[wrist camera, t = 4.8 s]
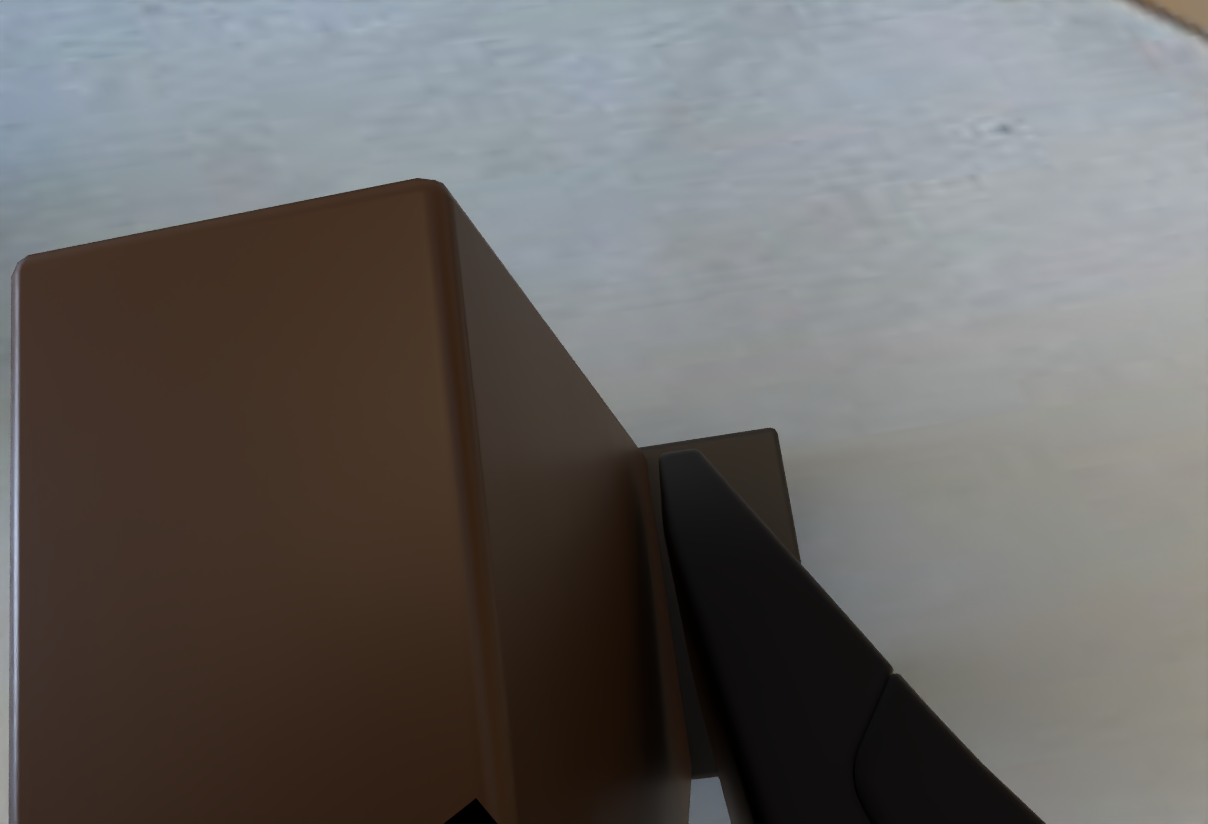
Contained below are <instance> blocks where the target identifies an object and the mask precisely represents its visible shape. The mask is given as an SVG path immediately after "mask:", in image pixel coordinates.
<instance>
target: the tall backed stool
mask: <svg viewBox="0 0 1208 824" xmlns="http://www.w3.org/2000/svg"><path fill="white" fill-rule="evenodd" d="M687 449H697V450H699V451H700V452H701V453H702V454H703V455H704V456H705V457H706V458H707V459H708V460H709V462H710V463H711V464H712V465H713V466H714V467H715V468H716V469H717V471H718V472H719V473H720V474H721V475H722V476H723V477H724V478H725V479H726V481H727V482H728V483H729V484H730V485H731V486H732V487H733V488H734V490H735V491H736V492H737V493H738V494H739V495H740V496H741V497H742V499H743V500H744V501H745V502H746V503H747V504H748V505H749V506H750V508H751V509H752V510H753V511H754V512H755V513H756V514H757V515H758V517H759V518H760V519H761V520H762V521H763V522H764V523H765V524H766V525H767V527H768V528H769V529H770V530H771V531H772V532H773V533H774V534H775V536H776V537H777V538H778V539H779V540H780V541H781V542H782V543H783V545H784V546H785V547H786V548H787V549H788V550H789V551H790V552H791V554H792V555H793V556H794V557H795V558H796V559H797V560H798V561H799V562H800V564H801V560H800V554H799V549H798V543H797V538H796V532H795V527H794V521H793V516H792V510H791V505H790V499H789V494H788V488H787V483H786V477H785V472H784V466H783V461H782V455H781V450H780V444H779V439H778V433H777V432H776V430H775V429H773V428H764V429H758V430H751V431H745V432H738V433H732V434H725V435H719V436H712V437H706V438H700V439H693V440H687V441H680V442H674V443H667V444H661V445H654V446H648V447H641V448H638V447H637V445H636V444H635V443H634V441H633V440H632V439H631V437H630V436H629V435H628V433H627V432H626V430H625V429H624V428H623V426H622V425H621V424H620V422H619V421H618V420H617V418H616V417H615V416H614V414H613V413H612V412H611V410H610V409H609V407H608V406H607V405H606V403H605V402H604V401H603V399H602V398H601V397H600V395H599V394H598V393H597V391H596V390H595V388H594V387H593V386H592V384H591V383H590V382H589V380H588V379H587V378H586V376H585V375H584V374H583V372H582V371H581V369H580V368H579V367H578V365H577V364H576V363H575V361H574V360H573V359H572V357H571V356H570V355H569V353H568V352H567V350H566V349H565V348H564V346H563V345H562V344H561V342H560V341H559V340H558V338H557V337H556V336H555V334H554V333H553V331H552V330H551V329H550V327H549V326H548V325H547V323H546V322H545V321H544V319H543V318H542V317H541V315H540V314H539V312H538V311H537V310H536V308H535V307H534V306H533V304H532V303H531V302H530V300H529V299H528V298H527V296H526V295H525V293H524V292H523V291H522V289H521V288H520V287H519V285H518V284H517V283H516V281H515V280H514V279H513V277H512V276H511V274H510V273H509V272H508V270H507V269H506V268H505V266H504V265H503V264H502V262H501V261H500V260H499V258H498V257H497V256H496V254H495V253H494V251H493V250H492V249H491V247H490V246H489V245H488V243H487V242H486V241H485V239H484V238H483V237H482V235H481V234H480V232H479V231H478V230H477V228H476V227H475V226H474V224H473V223H472V222H471V220H470V219H469V218H468V216H467V215H466V213H465V212H464V211H463V209H462V208H461V207H460V205H459V204H458V203H457V201H456V200H455V199H454V197H453V196H452V194H451V193H450V192H449V190H448V189H447V188H446V186H445V185H444V184H443V183H441V182H438V181H436V180H429V179H421V178H415V179H410V180H405V181H400V182H395V183H390V184H385V185H380V186H375V187H370V188H365V189H360V190H355V191H350V192H345V193H340V194H335V195H329V196H324V197H319V198H314V199H309V200H304V201H299V202H294V203H289V204H284V205H279V206H274V207H269V208H264V209H259V210H254V211H249V212H244V213H239V214H234V215H229V216H223V217H218V218H213V219H208V220H203V221H198V222H193V223H188V224H183V225H178V226H173V227H168V228H163V229H158V230H153V231H148V232H143V233H138V234H133V235H128V236H123V237H117V238H112V239H107V240H102V241H97V242H92V243H87V244H82V245H77V246H72V247H67V248H62V249H57V250H52V251H47V252H42V253H37V254H32V255H28V256H27V257H25V258H24V259H22V260H21V261H19V262H18V263H17V265H16V267H15V270H14V272H13V274H12V276H11V470H10V668H9V824H688V821H689V805H690V790H691V779H700V778H710V777H719V775H718V771H717V767H716V763H715V760H714V756H713V752H712V748H711V744H710V741H709V737H708V733H707V729H706V725H705V722H704V718H703V714H702V710H701V706H700V703H699V699H698V695H697V691H696V687H695V683H694V679H693V674H692V670H691V666H690V661H689V656H688V651H687V646H686V641H685V636H684V631H683V626H682V621H681V616H680V611H679V606H678V601H677V596H676V591H675V586H674V581H673V576H672V571H671V566H670V561H669V556H668V552H667V547H666V542H665V537H664V529H663V520H662V506H661V491H660V477H659V457H660V455H662V454H663V453H667V452H674V451H680V450H687Z"/></svg>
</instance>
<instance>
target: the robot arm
mask: <svg viewBox="0 0 1208 824" xmlns="http://www.w3.org/2000/svg"><path fill="white" fill-rule="evenodd" d="M659 477H660V491H661V506H662V520H663V529H664V537H665V542H666V547H667V552H668V556H669V561H670V566H671V571H672V576H673V581H674V586H675V591H676V596H677V601H678V606H679V611H680V616H681V621H682V626H683V631H684V636H685V641H686V646H687V651H688V656H689V661H690V666H691V670H692V674H693V679H694V683H695V687H696V691H697V695H698V699H699V703H700V706H701V710H702V714H703V718H704V722H705V725H706V729H707V733H708V737H709V741H710V744H711V748H712V752H713V756H714V760H715V763H716V767H717V771H718V775H719V779H720V782H721V786H722V790H723V794H724V798H725V801H726V805H727V809H728V813H729V817H730V821H731V824H1046V823H1045V822H1044V821H1042V820H1041V819H1040V818H1039V817H1038V816H1037V815H1036V814H1035V813H1034V812H1033V811H1032V810H1031V809H1030V808H1029V807H1028V806H1027V805H1026V804H1025V803H1023V802H1022V801H1021V800H1020V799H1019V798H1018V797H1017V796H1016V795H1015V794H1014V793H1013V792H1012V791H1011V790H1010V789H1009V788H1008V787H1007V786H1006V785H1005V784H1003V783H1002V782H1001V781H1000V780H999V779H998V778H997V777H996V776H995V775H994V774H993V773H992V772H991V771H990V770H989V769H988V768H987V767H986V766H984V765H983V764H982V763H981V762H980V760H979V759H978V758H977V757H976V756H975V755H974V754H973V753H972V752H971V751H970V750H969V749H968V748H967V747H966V746H965V745H964V744H963V743H962V742H961V740H960V739H959V738H958V737H957V736H956V735H955V734H954V733H953V732H952V731H951V730H950V729H949V728H948V727H947V726H946V725H945V724H944V723H943V721H942V720H941V719H940V718H939V717H938V716H937V715H936V714H935V713H934V712H933V711H932V710H931V709H930V708H929V707H928V705H927V704H926V703H925V702H924V701H923V700H922V699H921V698H920V696H919V695H918V694H917V693H916V692H915V691H914V690H913V689H912V687H911V686H910V685H909V684H908V683H907V682H906V681H905V680H904V678H903V677H902V676H901V675H899V674H897V673H896V674H893V667H892V666H891V665H890V663H889V662H888V661H887V660H886V659H885V658H884V657H883V656H882V654H881V653H880V652H879V651H878V650H877V649H876V648H875V647H874V645H873V644H872V643H871V642H870V641H869V640H868V639H867V638H866V637H865V635H864V634H863V633H862V632H861V631H860V630H859V629H858V628H857V626H856V625H855V624H854V623H853V622H852V621H851V620H850V619H849V617H848V616H847V615H846V614H845V613H844V612H843V611H842V610H841V608H840V607H839V606H838V605H837V604H836V603H835V602H834V601H833V599H832V598H831V597H830V596H829V595H828V594H827V593H826V592H825V591H824V589H823V588H822V587H821V586H820V585H819V584H818V583H817V582H816V580H815V579H814V578H813V577H812V576H811V575H810V574H809V573H808V571H807V570H806V569H805V568H804V567H803V566H802V565H801V564H800V562H799V561H798V560H797V559H796V558H795V557H794V556H793V555H792V554H791V552H790V551H789V550H788V549H787V548H786V547H785V546H784V545H783V543H782V542H781V541H780V540H779V539H778V538H777V537H776V536H775V534H774V533H773V532H772V531H771V530H770V529H769V528H768V527H767V525H766V524H765V523H764V522H763V521H762V520H761V519H760V518H759V517H758V515H757V514H756V513H755V512H754V511H753V510H752V509H751V508H750V506H749V505H748V504H747V503H746V502H745V501H744V500H743V499H742V497H741V496H740V495H739V494H738V493H737V492H736V491H735V490H734V488H733V487H732V486H731V485H730V484H729V483H728V482H727V481H726V479H725V478H724V477H723V476H722V475H721V474H720V473H719V472H718V471H717V469H716V468H715V467H714V466H713V465H712V464H711V463H710V462H709V460H708V459H707V458H706V457H705V456H704V455H703V454H702V453H701V452H700V451H699V450H697V449H687V450H680V451H674V452H667V453H663V454H662V455H660V457H659Z"/></svg>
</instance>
